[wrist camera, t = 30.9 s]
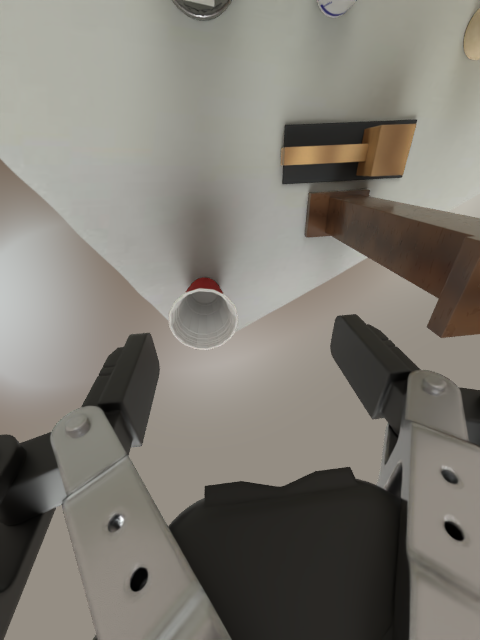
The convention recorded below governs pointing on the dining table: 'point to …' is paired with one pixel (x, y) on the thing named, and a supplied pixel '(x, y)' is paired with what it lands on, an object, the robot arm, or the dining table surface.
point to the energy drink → (335, 7)
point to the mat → (328, 136)
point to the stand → (410, 249)
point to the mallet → (361, 151)
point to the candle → (473, 38)
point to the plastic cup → (203, 316)
